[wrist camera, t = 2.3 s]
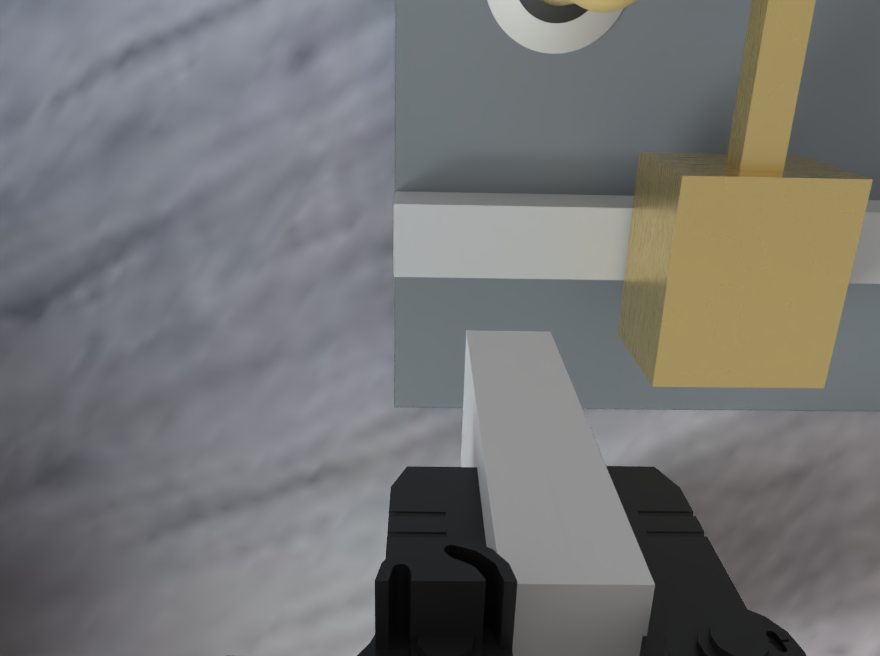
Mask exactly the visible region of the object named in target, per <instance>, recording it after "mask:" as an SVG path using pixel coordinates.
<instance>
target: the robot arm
mask: <svg viewBox="0 0 880 656" xmlns="http://www.w3.org/2000/svg"><path fill="white" fill-rule="evenodd" d="M375 633H376V634H375V636H374V637H373V639H372V641H371V642H370V644H369V645H368V646H367V647H366V648H365V649H364V650H362V651H361V652H360V653H359V654H358V655H357V656H806V654H805V652H804V651H803V650H802V649H801V647H800V646H799V645H798V644H797V643H796V642H795V640H794V639H793V638H792V637H791V636H790V635H789V633H788V632H787V631H785V630H784V629H782V628H781V627H779V626H778V625H776V624H775V623H773V622H772V621H770V620H769V619H768V618H766V617H765V616H762V615H760V614H757V613H754V612H752V611H749V610H747V608H746V606H745V605H744V603H743V601H742V599H741V597H740V596H739V594H738V592H737V590H736V588H735V587H734V585H733V583H732V581H731V579H730V577H729V576H728V574H727V572H726V570H725V568H724V567H723V565H722V563H721V561H720V559H719V558H718V556H717V554H716V552H715V550H714V549H713V547H712V545H711V543H710V541H709V540H708V538H707V537H704V530H703V529H702V527H701V525H700V523H699V521H698V520H697V518H696V516H693V511H692V509H691V507H690V505H689V503H688V502H687V500H686V498H685V496H684V494H683V493H682V491H681V489H680V487H678V486H677V485H676V484H675V483H673V482H672V481H671V480H670V479H668V478H667V477H666V476H665V475H664V474H662V473H661V472H660V471H659V470H657V469H656V468H655V467H624V466H606V465H605V462H604V460H603V457H602V455H601V453H600V450H599V448H598V445H597V443H596V441H595V438H594V436H593V433H592V431H591V428H590V426H589V424H588V421H587V419H586V416H585V414H584V411H583V409H582V407H581V404H580V402H579V399H578V397H577V395H576V392H575V390H574V387H573V385H572V382H571V380H570V378H569V375H568V373H567V370H566V368H565V365H564V363H563V361H562V358H561V356H560V353H559V351H558V349H557V346H556V344H555V341H554V339H553V336H552V334H551V332H543V331H481V330H466V348H465V373H464V397H463V422H462V446H461V467H406V469H405V470H404V471H403V472H402V474H401V475H400V476H399V478H398V479H397V480H396V481H395V483H394V484H393V485H392V486H391V494H390V507H389V521H388V537H387V549H386V560H384V561H383V562H382V564H381V566H380V569H379V572H378V574H377V577H376V580H375Z"/></svg>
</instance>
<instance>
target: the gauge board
mask: <svg viewBox="0 0 880 656" xmlns="http://www.w3.org/2000/svg"><path fill="white" fill-rule="evenodd" d="M751 3H752V0H396V64H395V196H394V220H393V277H395V371H394V407H419V408H463V397H464V373H465V348H466V330H481V331H543V332H551V334H552V336H553V339H554V341H555V344H556V346H557V349H558V351H559V353H560V356H561V358H562V361H563V363H564V365H565V368H566V370H567V373H568V375H569V378H570V380H571V382H572V385H573V387H574V390H575V392H576V395H577V397H578V399H579V402H580V404H581V407H582V409H671V410H797V411H880V0H816V2H815V7H814V12H813V18H812V23H811V28H810V34H809V39H808V44H807V49H806V55H805V60H804V65H803V70H802V76H801V81H800V86H799V92H798V97H797V102H796V107H795V113H794V118H793V123H792V129H791V134H790V139H789V144H788V150H787V155H800V156H803V157H806V158H809V159H812V160H815V161H818V162H821V163H824V164H827V165H831V166H834V167H837V168H840V169H843V170H846V171H849V172H852V173H855V174H858V175H861V176H864V177H867V178H870V179H873V181H872V186H871V190H870V194H869V198H868V203H867V207H866V211H865V216H864V220H863V224H862V228H861V233H860V237H859V241H858V246H857V250H856V254H855V258H854V263H853V267H852V271H851V276H850V280H849V284H848V288H847V293H846V297H845V301H844V306H843V310H842V314H841V318H840V323H839V327H838V331H837V336H836V340H835V344H834V349H833V353H832V357H831V361H830V366H829V370H828V374H827V379H826V383H825V387H824V388H736V387H652V385H651V384H650V382H649V381H648V379H647V378H646V376H645V375H644V373H643V372H642V370H641V369H640V367H639V366H638V364H637V363H636V361H635V360H634V358H633V357H632V355H631V354H630V352H629V351H628V349H627V348H626V346H625V345H624V343H623V342H622V340H621V339H620V337H619V336H618V327H619V319H620V310H621V302H622V294H623V285H624V277H625V268H626V260H627V252H628V243H629V235H630V226H631V218H632V210H633V201H634V193H635V185H636V176H637V168H638V159H639V152H658V153H706V154H727V152H728V146H729V140H730V134H731V127H732V121H733V115H734V109H735V103H736V96H737V90H738V84H739V78H740V72H741V65H742V59H743V53H744V47H745V41H746V34H747V28H748V22H749V16H750V10H751Z"/></svg>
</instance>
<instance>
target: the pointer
mask: <svg viewBox="0 0 880 656" xmlns="http://www.w3.org/2000/svg"><path fill="white" fill-rule="evenodd" d="M815 2H816V0H752V3H751V10H750V16H749V22H748V28H747V34H746V41H745V47H744V53H743V59H742V65H741V72H740V78H739V84H738V90H737V96H736V103H735V109H734V115H733V121H732V127H731V134H730V140H729V146H728V152H727V154H706V153H658V152H639V159H638V168H637V176H636V185H635V193H634V201H633V210H632V218H631V226H630V235H629V243H628V252H627V260H626V268H625V277H624V285H623V294H622V302H621V310H620V319H619V327H618V336H619V337H620V339H621V340H622V342H623V343H624V345H625V346H626V348H627V349H628V351H629V352H630V354H631V355H632V357H633V358H634V360H635V361H636V363H637V364H638V366H639V367H640V369H641V370H642V372H643V373H644V375H645V376H646V378H647V379H648V381H649V382H650V384H651V385H652V387H736V388H824V387H825V383H826V379H827V374H828V370H829V366H830V361H831V357H832V353H833V349H834V344H835V340H836V336H837V331H838V327H839V323H840V318H841V314H842V310H843V306H844V301H845V297H846V293H847V288H848V284H849V280H850V276H851V271H852V267H853V263H854V258H855V254H856V250H857V246H858V241H859V237H860V233H861V228H862V224H863V220H864V216H865V211H866V207H867V203H868V198H869V194H870V190H871V186H872V181H873V179H870V178H867V177H864V176H861V175H858V174H855V173H852V172H849V171H846V170H843V169H840V168H837V167H834V166H831V165H827V164H824V163H821V162H818V161H815V160H812V159H809V158H806V157H803V156H800V155H787V150H788V144H789V139H790V134H791V129H792V123H793V118H794V113H795V107H796V102H797V97H798V92H799V86H800V81H801V76H802V70H803V65H804V60H805V55H806V49H807V44H808V39H809V34H810V28H811V23H812V18H813V12H814V7H815Z"/></svg>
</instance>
